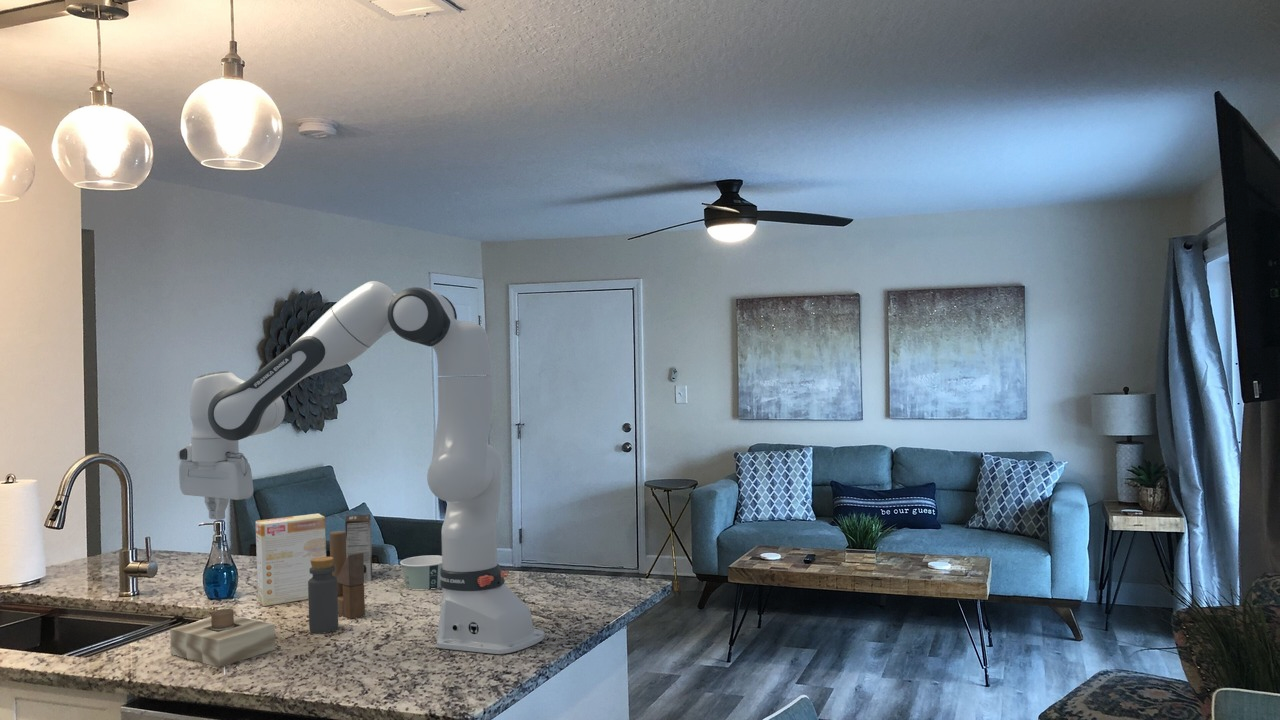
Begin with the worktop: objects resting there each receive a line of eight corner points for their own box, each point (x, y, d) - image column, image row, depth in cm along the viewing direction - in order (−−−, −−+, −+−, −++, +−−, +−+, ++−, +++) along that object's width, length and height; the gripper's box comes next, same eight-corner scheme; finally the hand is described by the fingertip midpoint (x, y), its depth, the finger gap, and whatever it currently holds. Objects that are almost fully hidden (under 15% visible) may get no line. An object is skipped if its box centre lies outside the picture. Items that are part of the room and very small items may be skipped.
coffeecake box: (321, 591, 233) (318, 512, 233) (328, 596, 227) (326, 516, 227) (257, 600, 225) (254, 519, 225) (263, 607, 219) (260, 523, 219)
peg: (239, 650, 185) (238, 610, 185) (220, 656, 181) (219, 615, 181) (226, 648, 187) (225, 607, 187) (207, 653, 184) (206, 612, 184)
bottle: (309, 627, 200) (307, 557, 200) (337, 624, 202) (335, 554, 202) (309, 634, 195) (307, 562, 195) (339, 631, 197) (337, 559, 197)
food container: (394, 585, 237) (393, 559, 237) (439, 578, 244) (438, 553, 244) (410, 594, 227) (409, 567, 227) (457, 586, 233) (456, 560, 233)
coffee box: (347, 576, 249) (345, 515, 249) (372, 573, 251) (370, 513, 251) (346, 583, 240) (344, 520, 240) (372, 581, 242) (370, 518, 242)
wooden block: (350, 619, 206) (348, 537, 206) (328, 611, 213) (325, 532, 213) (365, 616, 208) (363, 535, 208) (343, 607, 216) (341, 529, 216)
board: (275, 649, 185) (274, 624, 185) (219, 667, 175) (218, 640, 175) (226, 638, 194) (226, 614, 194) (170, 654, 184) (170, 629, 184)
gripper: (260, 451, 188) (262, 520, 188) (200, 448, 200) (202, 513, 200) (231, 454, 183) (233, 525, 183) (172, 451, 194) (174, 518, 194)
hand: (217, 519), depth 191 cm, fingers closed
